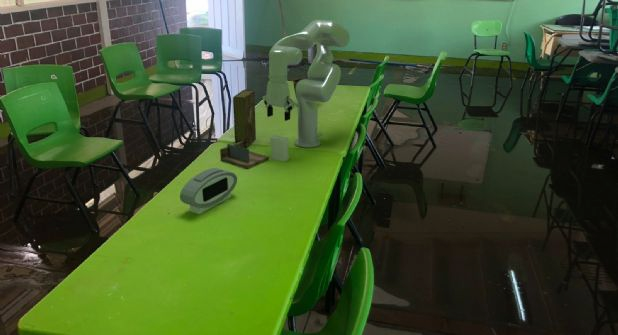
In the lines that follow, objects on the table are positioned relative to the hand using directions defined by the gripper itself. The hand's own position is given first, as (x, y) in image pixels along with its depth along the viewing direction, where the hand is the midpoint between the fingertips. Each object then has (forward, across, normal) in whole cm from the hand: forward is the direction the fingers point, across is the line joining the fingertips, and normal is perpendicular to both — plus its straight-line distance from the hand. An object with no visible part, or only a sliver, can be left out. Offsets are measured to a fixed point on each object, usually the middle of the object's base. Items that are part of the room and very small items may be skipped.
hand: (278, 118), depth 208 cm
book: (+19, -26, +6) cm, 33 cm away
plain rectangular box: (+19, 0, 0) cm, 19 cm away
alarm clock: (+20, +9, -50) cm, 54 cm away
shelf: (+19, -11, -10) cm, 24 cm away
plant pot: (+18, -45, +80) cm, 94 cm away
